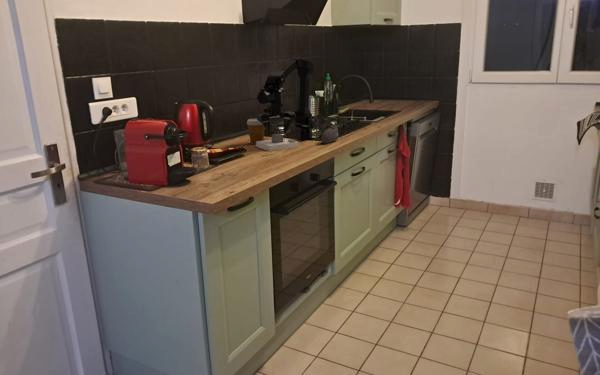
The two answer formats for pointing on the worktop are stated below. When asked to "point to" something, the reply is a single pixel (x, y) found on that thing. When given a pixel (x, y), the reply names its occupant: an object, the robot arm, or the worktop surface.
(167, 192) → the worktop surface
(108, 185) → the worktop surface
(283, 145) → the socket plate
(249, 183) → the worktop surface
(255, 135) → the disposable coffee cup
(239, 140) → the worktop surface
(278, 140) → the grey cylinder
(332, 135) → the perforated stone tool
